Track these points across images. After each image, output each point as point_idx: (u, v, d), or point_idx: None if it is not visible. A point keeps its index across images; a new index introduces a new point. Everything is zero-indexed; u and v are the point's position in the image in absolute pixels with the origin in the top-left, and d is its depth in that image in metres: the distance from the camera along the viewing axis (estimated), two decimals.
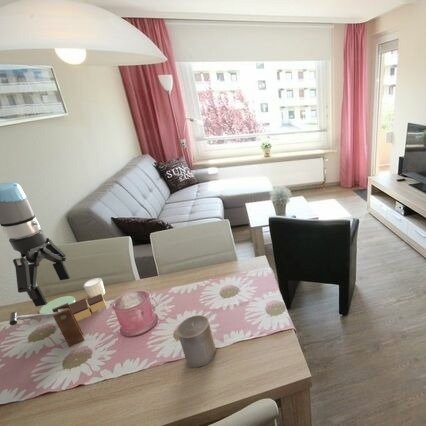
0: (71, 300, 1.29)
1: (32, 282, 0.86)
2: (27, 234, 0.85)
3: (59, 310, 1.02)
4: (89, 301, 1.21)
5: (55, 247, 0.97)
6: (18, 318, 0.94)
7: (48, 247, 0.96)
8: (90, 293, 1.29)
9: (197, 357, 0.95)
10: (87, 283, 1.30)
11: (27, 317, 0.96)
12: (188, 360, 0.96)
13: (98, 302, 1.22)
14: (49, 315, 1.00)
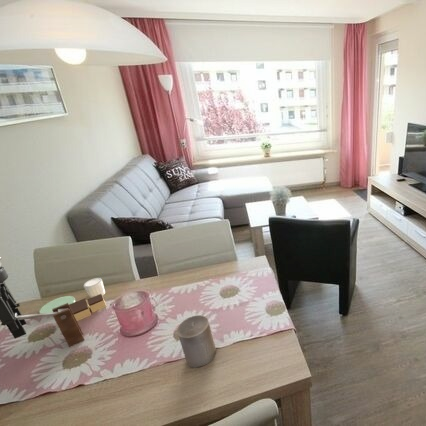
0: (71, 300, 1.29)
1: (12, 314, 0.90)
2: None
3: (59, 310, 1.02)
4: (89, 301, 1.21)
5: (8, 289, 0.95)
6: (18, 318, 0.94)
7: None
8: (90, 293, 1.29)
9: (197, 357, 0.95)
10: (87, 283, 1.30)
11: (27, 317, 0.96)
12: (188, 360, 0.96)
13: (98, 302, 1.22)
14: (49, 315, 1.00)
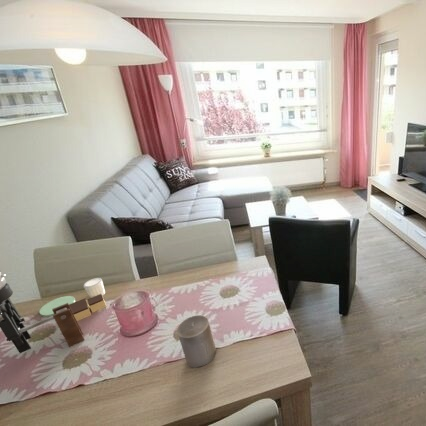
0: (71, 300, 1.29)
1: (17, 330, 0.92)
2: None
3: (57, 312, 1.02)
4: (89, 301, 1.21)
5: (12, 305, 0.97)
6: (20, 331, 0.96)
7: None
8: (90, 293, 1.29)
9: (197, 357, 0.95)
10: (87, 283, 1.30)
11: (29, 327, 0.97)
12: (188, 360, 0.96)
13: (98, 302, 1.22)
14: (50, 319, 1.00)
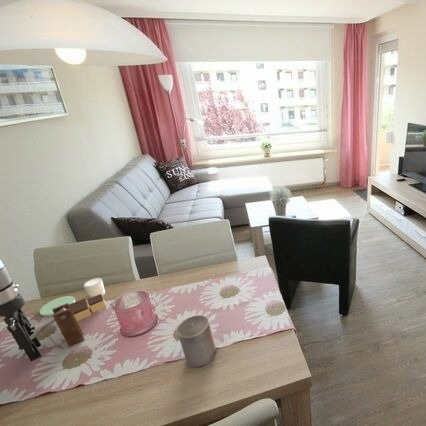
0: (71, 300, 1.29)
1: (29, 339, 0.95)
2: (12, 297, 0.90)
3: None
4: (89, 301, 1.21)
5: (24, 314, 1.00)
6: None
7: None
8: (90, 293, 1.29)
9: (197, 357, 0.95)
10: (87, 283, 1.30)
11: (36, 334, 0.99)
12: (188, 360, 0.96)
13: (98, 302, 1.22)
14: (52, 321, 1.01)
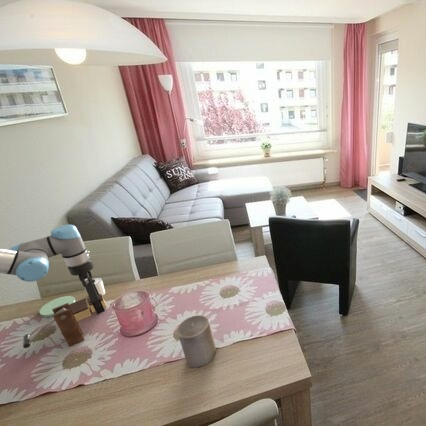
0: (71, 300, 1.29)
1: (96, 294, 1.16)
2: (86, 260, 1.14)
3: None
4: (89, 301, 1.21)
5: None
6: (30, 339, 0.98)
7: None
8: None
9: (197, 357, 0.95)
10: None
11: (36, 334, 0.99)
12: (188, 360, 0.96)
13: None
14: (52, 321, 1.01)
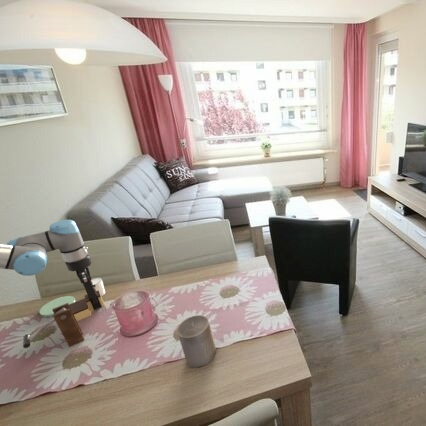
0: (71, 300, 1.29)
1: (94, 291, 1.18)
2: (84, 256, 1.14)
3: None
4: (86, 297, 1.20)
5: None
6: (30, 339, 0.98)
7: None
8: None
9: (197, 357, 0.95)
10: None
11: (36, 334, 0.99)
12: (188, 360, 0.96)
13: None
14: (52, 321, 1.01)
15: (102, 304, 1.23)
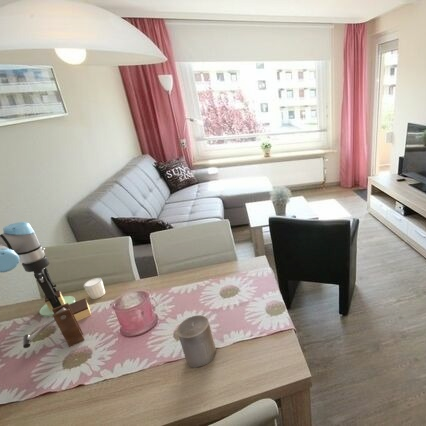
0: (71, 300, 1.29)
1: (53, 291, 1.21)
2: (40, 257, 1.16)
3: None
4: None
5: None
6: (30, 339, 0.98)
7: None
8: (90, 293, 1.29)
9: (197, 357, 0.95)
10: (87, 283, 1.30)
11: (36, 334, 0.99)
12: (188, 360, 0.96)
13: None
14: (52, 321, 1.01)
15: (62, 303, 1.26)
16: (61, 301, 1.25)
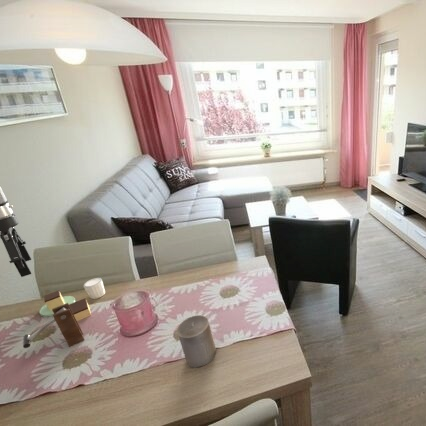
0: (71, 300, 1.29)
1: (19, 253, 1.03)
2: (7, 215, 1.02)
3: None
4: (45, 297, 1.23)
5: None
6: (30, 339, 0.98)
7: None
8: (90, 293, 1.29)
9: (197, 357, 0.95)
10: (87, 283, 1.30)
11: (36, 334, 0.99)
12: (188, 360, 0.96)
13: (54, 298, 1.23)
14: (52, 321, 1.01)
15: (62, 304, 1.26)
16: (61, 301, 1.25)
